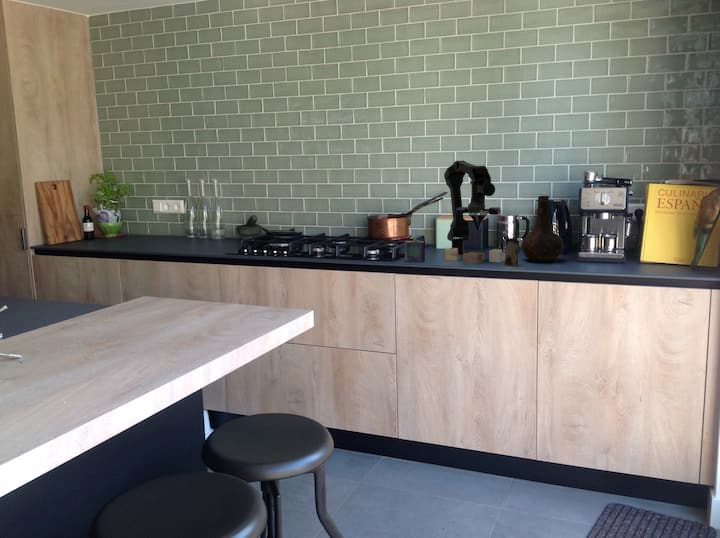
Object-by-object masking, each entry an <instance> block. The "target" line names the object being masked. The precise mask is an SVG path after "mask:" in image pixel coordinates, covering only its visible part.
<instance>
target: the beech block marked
mask: <svg viewBox="0 0 720 538" xmlns="http://www.w3.org/2000/svg"><path fill="white" fill-rule="evenodd" d="M444 250H445V252H444V258H445V259H444V261H449V262H451V261H452V262H456V261H458V260H459V254H458V248H452V247H447V248H445V249H444Z"/></svg>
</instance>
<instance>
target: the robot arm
mask: <svg viewBox="0 0 720 538" xmlns="http://www.w3.org/2000/svg"><path fill="white" fill-rule="evenodd" d="M466 174H467V177H469V178H470V179H471V181H470V182H469V184H470V185H471V198H470V202H469V204H468V205H467V206H463V202H462V201H463V200H462V192H461V186H462V185H463V183H464V177H465V176H466ZM443 178H444V180H445V184H446V186H447V187H448V189H449V192H450V201H451V202H450V204H451V212H452V220H451V224H450V228H449V231H448V233H447V235H446V238H447V239H446V240H448V241H450V242H451V248H458V255H463V254H465V253H467V251H466V250H465V247H464V246H465V242H464V241H468V240H469V237H470V236H469V235H470V227H469V222H468V220H465V218H464V214H468V217H470V219H472V222H473V224H474V227H475V230H476V232H477V231H480V229H481V227H482V223H483V222H484V219H485V218H486V217H487V216H489V215H490V216H493V215H494V216H497V215H498V216H499V215H501V213H502V211H501V210H502V209H501V208H500V207H499V206H498V207H495V206H494V207H489V208H486V197H492V196H493V195H494V194H495V192H496V187H495V184H494V183H493V182H492V179H491V178H492V177H491V175H490V172H489V169H488V168H487V166H486V165H475V164H472V163H469V162H467V161H465V160H455V161H454V162H453V163H452V165H450V166H449V167H447V168H446V170H445V172H444V175H443ZM488 214H489V215H488Z"/></svg>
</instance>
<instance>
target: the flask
mask: <svg viewBox="0 0 720 538" xmlns="http://www.w3.org/2000/svg"><path fill="white" fill-rule="evenodd" d="M425 251H426V247H425V241H422V240H419V239H417V237H412V241H411V240H408V241H407V240H406V241H404V262H409V263H425V262H426V252H425Z"/></svg>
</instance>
